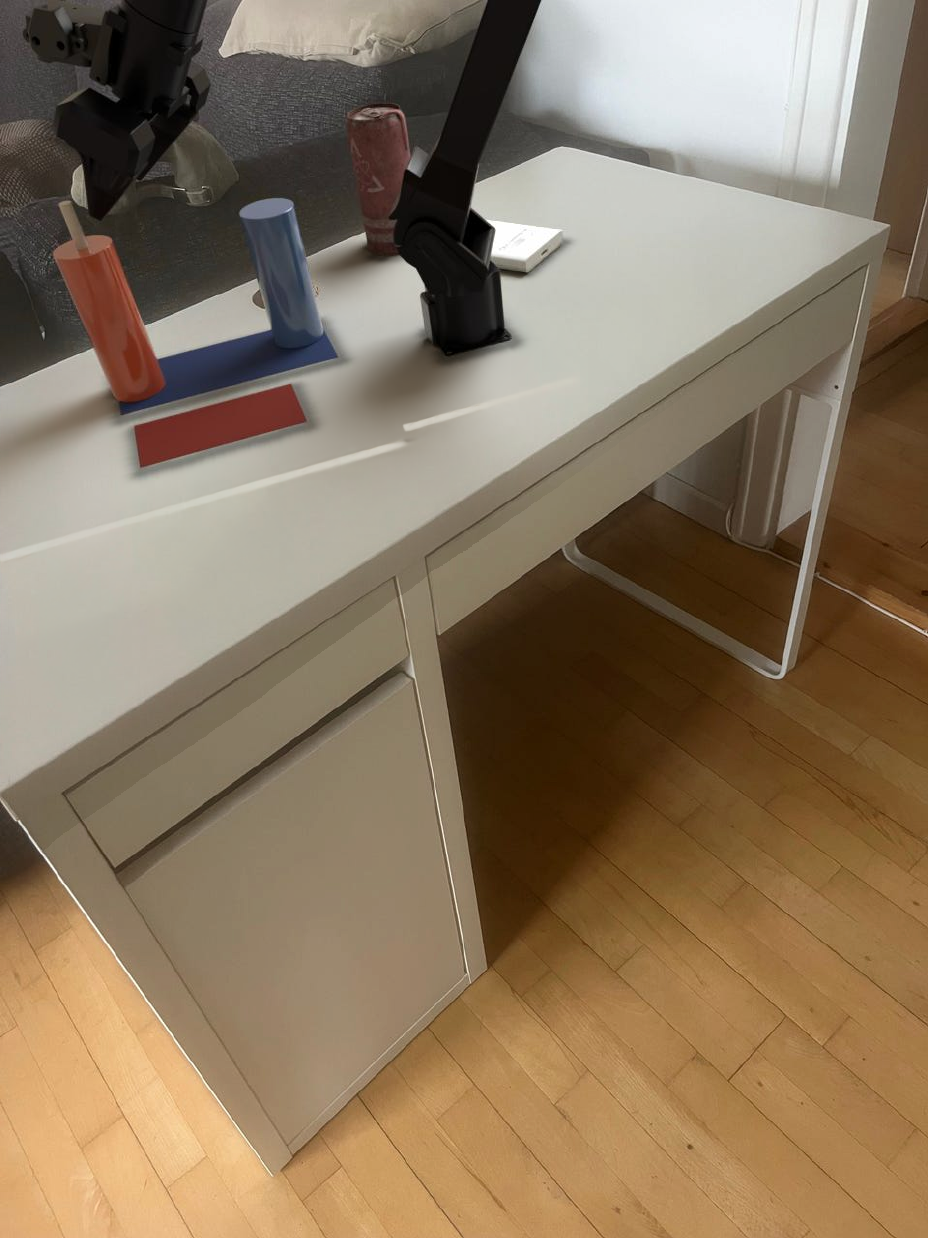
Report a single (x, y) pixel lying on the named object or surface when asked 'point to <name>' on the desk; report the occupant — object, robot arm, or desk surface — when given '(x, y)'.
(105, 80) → the robot arm
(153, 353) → the orange red candle
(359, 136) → the can
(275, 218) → the slate blue jar
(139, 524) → the desk surface
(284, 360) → the navy mat
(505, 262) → the hard drive
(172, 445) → the oxblood mat
